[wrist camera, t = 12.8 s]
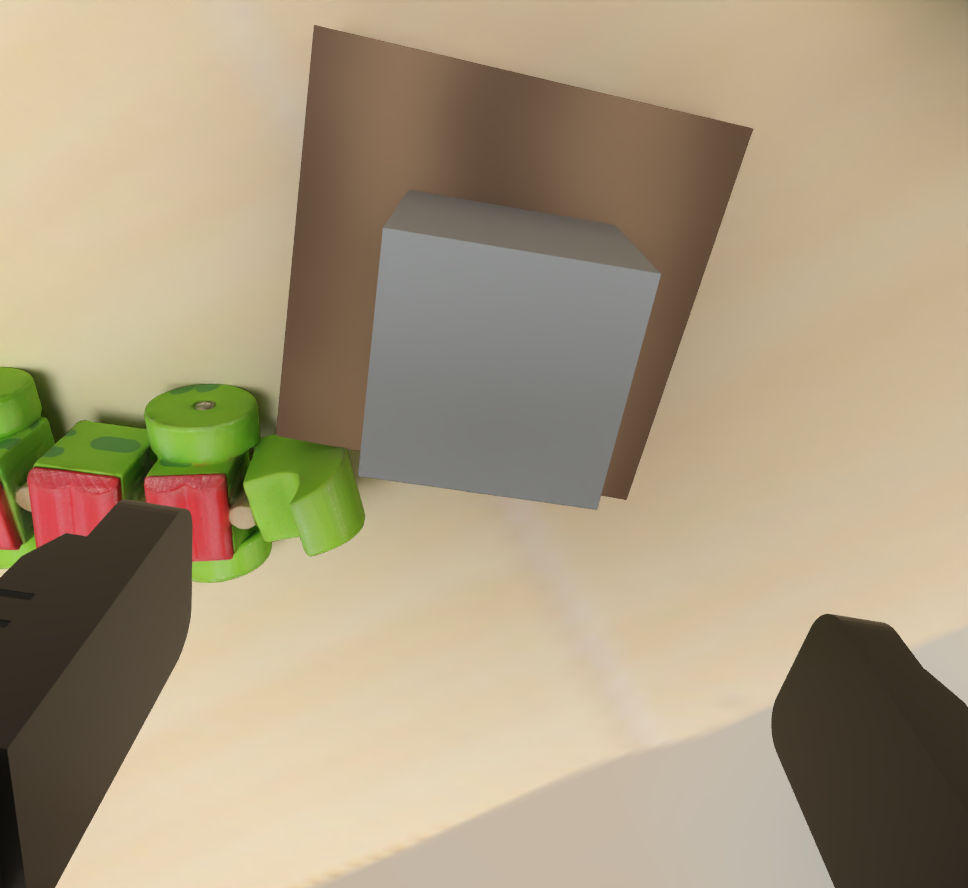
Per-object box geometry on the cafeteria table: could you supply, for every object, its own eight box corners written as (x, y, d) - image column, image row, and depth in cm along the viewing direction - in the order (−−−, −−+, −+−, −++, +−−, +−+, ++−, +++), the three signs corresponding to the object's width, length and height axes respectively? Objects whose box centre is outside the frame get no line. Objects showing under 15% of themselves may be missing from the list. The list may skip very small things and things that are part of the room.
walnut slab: (711, 122, 24) (753, 128, 20) (608, 448, 29) (626, 500, 25) (341, 34, 22) (314, 25, 19) (302, 390, 28) (276, 436, 24)
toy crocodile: (-112, 510, 30) (-247, 606, 24) (-165, 353, 27) (-332, 422, 21) (378, 536, 30) (355, 636, 25) (378, 385, 27) (353, 461, 22)
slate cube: (615, 225, 21) (661, 274, 16) (570, 412, 24) (596, 509, 18) (408, 189, 21) (382, 227, 15) (386, 385, 23) (357, 476, 18)
